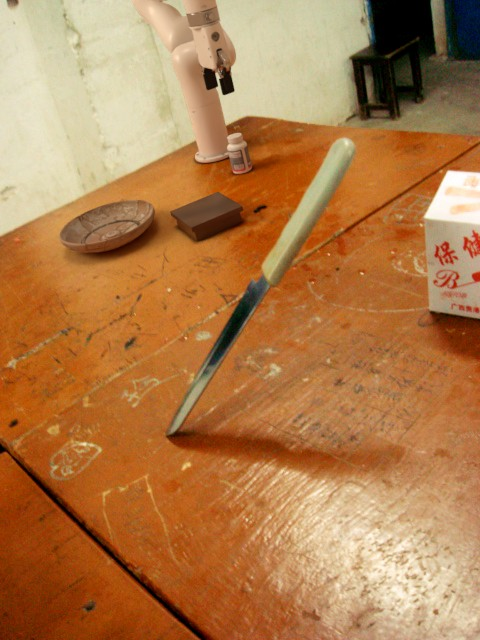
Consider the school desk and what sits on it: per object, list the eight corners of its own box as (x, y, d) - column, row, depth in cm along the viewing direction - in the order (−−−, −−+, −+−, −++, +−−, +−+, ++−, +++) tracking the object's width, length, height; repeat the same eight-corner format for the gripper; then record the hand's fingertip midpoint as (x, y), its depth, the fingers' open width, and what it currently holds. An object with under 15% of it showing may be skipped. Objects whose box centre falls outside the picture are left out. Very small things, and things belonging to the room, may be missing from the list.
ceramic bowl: (175, 232, 150) (169, 213, 147) (83, 274, 142) (75, 255, 139) (138, 208, 168) (132, 190, 165) (54, 244, 160) (46, 226, 157)
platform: (174, 226, 153) (169, 211, 150) (221, 206, 156) (218, 191, 154) (195, 243, 142) (191, 227, 140) (246, 221, 146) (242, 205, 144)
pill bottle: (243, 165, 176) (235, 130, 171) (256, 167, 173) (248, 132, 167) (229, 172, 174) (220, 138, 169) (241, 175, 170) (233, 140, 165)
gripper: (233, 14, 145) (249, 90, 155) (203, 12, 159) (219, 82, 168) (203, 24, 143) (221, 100, 153) (176, 21, 157) (194, 91, 166)
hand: (220, 90), depth 161 cm, fingers open, 9 cm apart
